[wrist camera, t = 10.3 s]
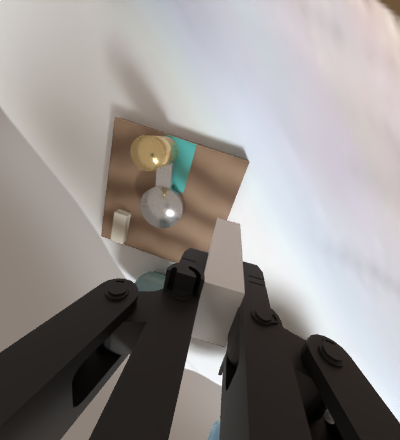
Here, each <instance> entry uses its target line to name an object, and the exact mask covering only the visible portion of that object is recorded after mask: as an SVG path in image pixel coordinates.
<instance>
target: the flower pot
mask: <svg viewBox="0 0 400 440" xmlns="http://www.w3.org/2000/svg"><path fill="white" fill-rule="evenodd" d="M164 282H165V276H164V275H162V274H159V273H157V272H149V273H146V274H144V275H142V276H141V277H140V278H139V279H138V280H137V281H136V282H135V284H136V286H137V288H138V291H157V290H160V289H163V287H164Z"/></svg>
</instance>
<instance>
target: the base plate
mask: <svg viewBox="0 0 400 440" xmlns="http://www.w3.org/2000/svg"><path fill="white" fill-rule="evenodd" d="M142 135H151V136H166V137H170V138H172V139H173V140H174V141H175V142H176V144H177V146H178V150H179V154H178V157H177V159H176V161H175V170H174V181H173V187H174V188H175V189H177V190H178V191H179V192H180V193H181V195H182V197H183V199H184V203H185V209H184V212H183V215H182V216H181V218H180V219H179V220H178V222H177V223H176V224H175V225H173V226H172V227H169V228H158V227H155V226H153V225H151V224H150V223H148V222H147V221H146V220H145V218H144V217H143V215H142V213H141V209H140V202H141V198H142V196H143V195H144V193H145V192H146V191H148V190H149V189H151V188H153V187H155V186H156V170H157V169H156V170H153V171H144V170H141V169H140V168H138V167H137V166H136V165H135V164H134V162H133V160H132V158H131V153H130V150H131V145H132V143H133V141H134V140H135V139H136V138H137V137H139V136H142ZM248 164H249V161H248V160H245V159H242V158H239V157H236V156H233V155H230V154H227V153H224V152H221V151H218V150H215V149H212V148H209V147H206V146H203V145H200V144H197V143H194V142H191V141H188V140H185V139H182V138H179V137H176V136H173V135H170V134H167V133H164V132H161V131H158V130H155V129H152V128H149V127H146V126H143V125H140V124H137V123H134V122H131V121H127V120H124V119H121V118H116V117H115V122H114V131H113V140H112V148H111V157H110V165H109V174H108V183H107V191H106V200H105V209H104V217H103V226H102V234H101V236H102V237H105V238H108V239H111V241H114V242H117V243H120V244H125V245H128V246H131V247H133V248H136V249H139V250H142V251H145V252H148V253H150V254H153V255H156V256H159V257H162V258H165V259H167V260H170V261H173V262H176V263H179V261H180V259H181V257H182V255H183V253H184V251H186V250H187V249H189V248H193V249H197V250H200V251H204V252H208V251H209V247H210V244H211V240H212V236H213V232H214V229H215V225H216V221H217V218H219V219H223V220H227V218H228V216H229V213H230V211H231V208H232V205H233V203H234V200H235V198H236V195H237V193H238V190H239V187H240V185H241V182H242V180H243V177H244V175H245V172H246V169H247V167H248Z"/></svg>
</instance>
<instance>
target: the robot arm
mask: <svg viewBox="0 0 400 440" xmlns="http://www.w3.org/2000/svg"><path fill="white" fill-rule="evenodd" d="M191 337H193V338H196V339H200V340H203V341H206V342H209V343H213V344H216V345H219V346H222V347H225V344H226V342H227V339H228V345H227V352H226V354H225V357H224V359H223V362H222V364H221V367H220V370H219V374H218V375H222V372H223V379H222V397H221V416H220V420H218V421H216V422H215V424H214V425H213V427H212V429H211V431H210V434H209V438H208V440H400V423H399V422H398V420H397V419H396V418H395V416H394V415H393V414H392V412H391V411H390V410H389V408H388V407H387V405H386V404H385V403H384V401H383V400H382V399H381V397H380V396H379V395H378V393H377V392H376V391H375V389H374V388H373V387H372V385H371V384H370V383H369V381H368V380H367V379H366V377H365V376H364V375H363V373H362V372H361V371H360V369H359V368H358V366H357V365H356V364H355V362H354V361H353V360H352V358H351V357H350V356H349V355H348V354H347V352H346V351H345V350H344V349H343V348H342V347H341V346H339V345H338V344H337V343H336V342H334V341H333V340H331V339H329V338H327V337H325V336H322V335H318V334H316V335H311V336H310V337H309V338H308V339H307V341H305V340H304V339H302V338H300V337H298V336H296V335H295V334H293V333H291V332H289V331H288V330H286V329H285V328H284V327H283V326H282V322H281V320H280V318H279V316H278V315H277V314H276V313H275V312H274V311H273V310H272V309H271V308H270V304H269V299H268V295H267V290H266V287H265V281H264V277H263V272H262V271H261V270H260V268H259V267H258V266H257V265H254V264H250V263H247V262H243V259H242V245H241V230H240V224H239V223H235V222H231V221H227V220H223V219H219V218H217V221H216V225H215V229H214V232H213V236H212V240H211V244H210V247H209V251H208V252H204V251H200V250H197V249H193V248H189V249H187V250H186V251H184V253H183V255H182V257H181V259H180V261H179V263H175V264H173V265H170V266H169V267H168V269H167V271H166V276H165V282H164V287H163V289H160V290H157V291H138V288H137V286H136V284H135V283H133V282H132V281H130V280H127V279H112V280H108V281H106V282H104V283H102V284H100V285H99V286H97V287H96V288H94V289H93V290H92V291H90V292H89V293H87V294H86V295H84V296H83V297H82V298H80V299H78V300H77V301H76V302H74V303H72V304H71V305H70V306H68V307H67V308H65V309H64V310H62V311H61V312H59V313H58V314H56V315H55V316H53V317H52V318H51V319H49V320H48V321H46V322H45V323H43V324H42V325H40V326H39V327H37V328H36V329H35V330H33V331H31V332H30V333H28V334H27V335H26V336H24V337H23V338H21V339H20V340H18V341H17V342H15V343H14V344H12V345H11V346H9V347H8V348H6V349H5V350H4V351H2V352H1V353H0V440H60V439H61V438H62V437H63V436H64V434H65V433H66V432H67V431H68V429H69V428H70V427H71V426H72V424H73V423H74V422H75V421H76V419H77V418H78V417H79V416H80V414H81V413H82V412H83V411H84V409H85V408H86V407H87V406H88V404H89V403H90V402H91V401H92V399H93V398H94V397H95V396H96V395H97V393H98V392H99V391H100V389H101V388H102V387H103V386H104V384H105V383H106V382H107V381H108V380H109V378H110V377H111V375H112V374H113V373H114V372H115V371H116V370H117V368H118V367H119V366H120V365H121V363H122V362H123V361H124V359H125V358H126V357H127V356H128V354H131V355H130V357H129V359H128V361H127V363H126V365H125V367H124V369H123V372H122V373H121V376H120V377H119V379H118V381H117V384H116V385H115V387H114V390H113V392H112V394H111V396H110V398H109V400H108V402H107V404H106V406H105V408H104V410H103V412H102V414H101V416H100V418H99V420H98V422H97V424H96V426H95V428H94V430H93V432H92V434H91V437H90V438H89V440H168V438H169V434H170V429H171V425H172V421H173V416H174V411H175V407H176V402H177V398H178V394H179V389H180V384H181V380H182V375H183V371H184V367H185V362H186V358H187V353H188V349H189V344H190V340H191Z"/></svg>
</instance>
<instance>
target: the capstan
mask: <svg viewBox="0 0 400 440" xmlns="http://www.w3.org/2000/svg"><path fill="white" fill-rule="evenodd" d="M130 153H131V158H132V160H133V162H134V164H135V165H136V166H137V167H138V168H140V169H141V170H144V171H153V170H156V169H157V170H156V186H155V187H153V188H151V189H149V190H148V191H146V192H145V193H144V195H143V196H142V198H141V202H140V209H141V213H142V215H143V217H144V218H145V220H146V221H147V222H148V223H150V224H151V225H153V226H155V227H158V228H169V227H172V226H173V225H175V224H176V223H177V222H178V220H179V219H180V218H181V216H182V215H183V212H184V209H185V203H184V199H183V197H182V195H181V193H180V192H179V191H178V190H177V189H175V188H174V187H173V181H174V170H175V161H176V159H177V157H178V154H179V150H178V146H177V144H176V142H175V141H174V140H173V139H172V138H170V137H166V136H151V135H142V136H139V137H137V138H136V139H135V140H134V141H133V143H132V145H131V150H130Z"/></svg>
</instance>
